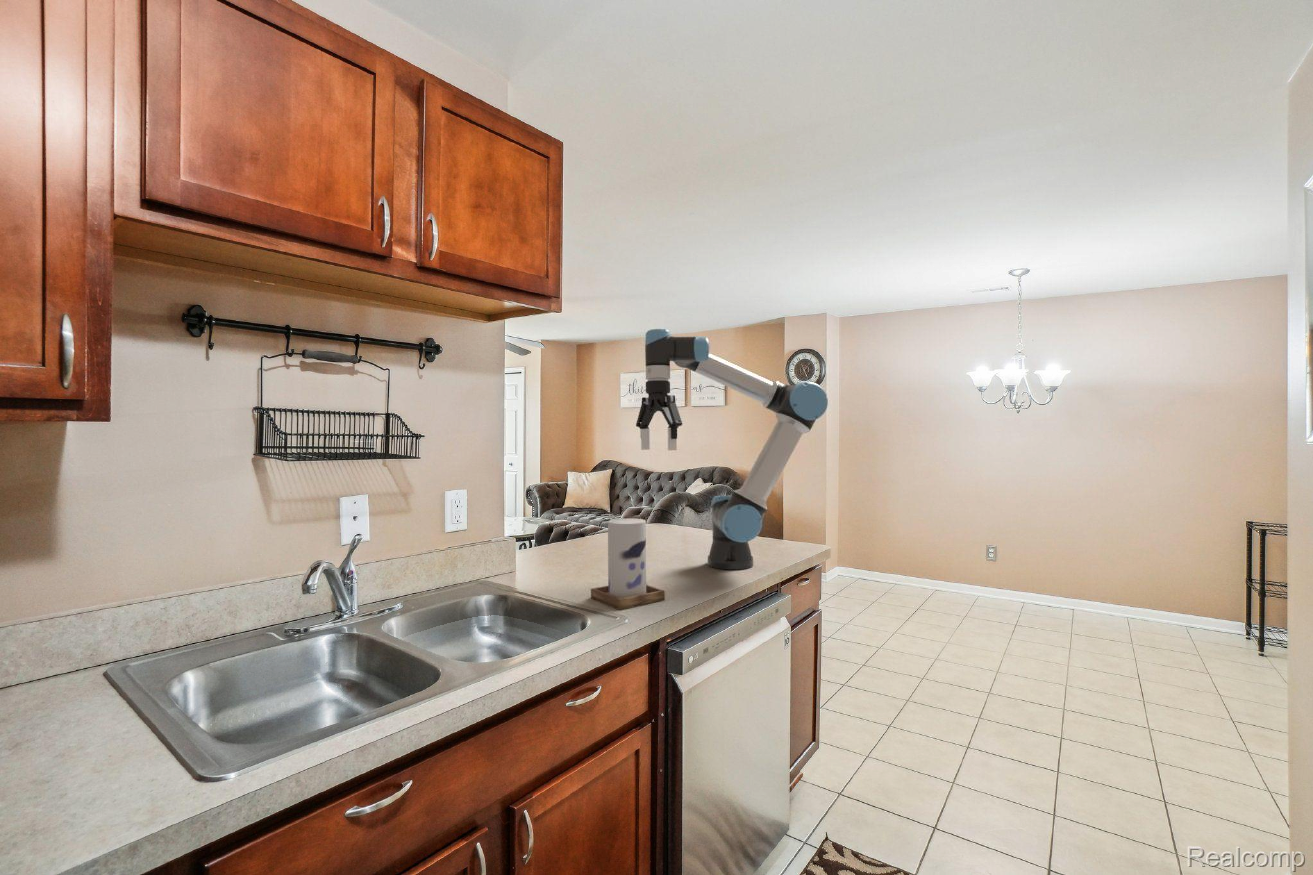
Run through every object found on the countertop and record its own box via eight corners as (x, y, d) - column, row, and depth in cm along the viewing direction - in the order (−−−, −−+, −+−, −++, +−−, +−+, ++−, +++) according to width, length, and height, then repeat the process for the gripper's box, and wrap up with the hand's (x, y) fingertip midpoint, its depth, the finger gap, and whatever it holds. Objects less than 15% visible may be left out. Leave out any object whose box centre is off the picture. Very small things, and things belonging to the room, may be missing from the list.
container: (629, 603, 151) (629, 524, 150) (600, 597, 157) (599, 521, 156) (653, 594, 159) (653, 519, 158) (625, 589, 165) (624, 516, 164)
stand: (634, 589, 167) (634, 580, 167) (664, 600, 156) (664, 590, 156) (591, 598, 159) (590, 588, 159) (619, 610, 148) (619, 599, 148)
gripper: (624, 383, 190) (625, 449, 190) (673, 376, 170) (674, 450, 170) (644, 384, 195) (644, 449, 195) (693, 377, 175) (694, 450, 175)
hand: (658, 450), depth 183 cm, fingers open, 13 cm apart
